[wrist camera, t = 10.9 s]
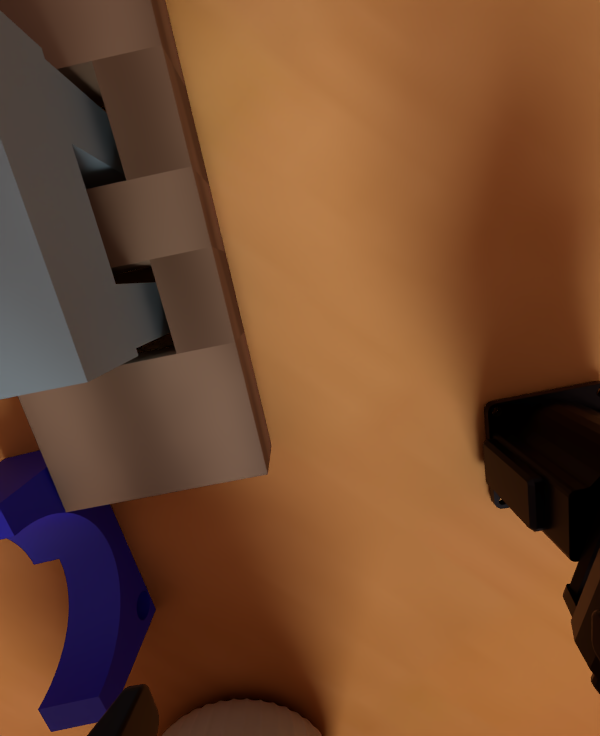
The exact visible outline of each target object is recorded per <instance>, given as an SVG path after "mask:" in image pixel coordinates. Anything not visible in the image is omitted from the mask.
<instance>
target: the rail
mask: <svg viewBox="0 0 600 736" xmlns="http://www.w3.org/2000/svg"><path fill="white" fill-rule="evenodd" d="M0 11H1V12H3V13H4V14H5V15H6V16H7V17H8V18H9V19H10V20H11V21H12V22H14V23H15V24H16V25H17V26H18V27H19V28H20V29H21V30H22V31H23V32H25V33H26V34H27V35H28V36H29V37H30V38H31V39H32V40H33V41H34V42H36V43H37V44H38V45H39V46H40V47H41V48H42V51H43V54H44V58H45V59H46V60H47V61H48V62H49V63H50V64H51V65H52V66H54V67H55V68H56V69H57V70H58V71H59V72H60V73H62V74H63V75H64V76H65V77H66V78H67V79H68V80H70V81H71V82H72V83H73V84H74V85H75V86H76V87H78V88H79V89H80V90H81V91H82V92H83V93H84V94H86V95H87V96H88V97H89V98H90V99H91V100H92V101H94V102H95V103H96V104H97V105H98V106H99V107H100V106H105V108H106V112H107V115H108V119H109V122H110V126H111V129H112V133H113V136H114V140H115V143H116V146H117V150H118V153H119V157H120V160H121V164H122V167H123V171H124V174H125V177H126V181H122V182H117V183H113V184H108V185H104V186H99V187H94V188H90V189H86V191H87V194H88V197H89V200H90V204H91V207H92V210H93V213H94V216H95V220H96V223H97V226H98V229H99V232H100V235H101V239H102V242H103V245H104V248H105V251H106V254H107V258H108V261H109V264H110V267H111V270H112V273H113V275H115V274H120V273H125V272H130V271H135V270H139V269H144V268H149V267H152V270H153V274H154V277H155V281H156V284H157V288H158V291H159V295H160V298H161V301H162V305H163V308H164V312H165V315H166V319H167V322H168V326H169V329H170V332H171V336H172V339H173V343H174V346H172V347H167V348H162V349H157V350H152V351H147V352H142V353H138V356H137V357H135V358H133V359H132V360H130V361H128V362H126V363H124V364H122V365H120V366H118V367H116V368H114V369H112V370H110V371H108V372H106V373H104V374H103V375H101V376H99V377H97V378H95V379H93V380H91V381H89V382H86V383H81V384H76V385H71V386H66V387H61V388H56V389H51V390H46V391H40V392H35V393H30V394H25V395H20V396H18V398H19V400H20V403H21V405H22V407H23V410H24V412H25V415H26V417H27V419H28V422H29V424H30V427H31V429H32V432H33V434H34V436H35V439H36V441H37V444H38V446H39V448H40V451H41V453H42V456H43V458H44V460H45V463H46V465H47V468H48V470H49V473H50V475H51V477H52V480H53V482H54V485H55V487H56V489H57V492H58V494H59V497H60V499H61V501H62V504H63V506H64V509H65V511H66V512H70V511H76V510H81V509H86V508H92V507H97V506H102V505H108V504H113V503H118V502H123V501H129V500H134V499H139V498H145V497H150V496H155V495H161V494H166V493H171V492H176V491H182V490H187V489H192V488H198V487H203V486H208V485H214V484H219V483H224V482H230V481H235V480H240V479H245V478H251V477H256V476H261V475H267V474H268V468H269V461H270V453H271V442H270V438H269V433H268V429H267V425H266V421H265V417H264V413H263V408H262V404H261V400H260V396H259V392H258V387H257V383H256V379H255V375H254V371H253V367H252V362H251V358H250V354H249V350H248V346H247V341H246V337H245V333H244V329H243V325H242V320H241V316H240V312H239V308H238V304H237V300H236V295H235V291H234V287H233V283H232V279H231V274H230V270H229V266H228V262H227V258H226V254H225V249H224V245H223V241H222V237H221V233H220V228H219V224H218V220H217V216H216V212H215V208H214V203H213V199H212V195H211V191H210V187H209V182H208V178H207V174H206V170H205V166H204V161H203V157H202V153H201V149H200V145H199V141H198V136H197V132H196V128H195V124H194V120H193V115H192V111H191V107H190V103H189V99H188V95H187V90H186V86H185V82H184V78H183V74H182V69H181V65H180V61H179V57H178V53H177V49H176V44H175V40H174V36H173V32H172V28H171V23H170V19H169V15H168V11H167V7H166V2H165V0H0Z"/></svg>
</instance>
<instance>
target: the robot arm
mask: <svg viewBox="0 0 600 736" xmlns="http://www.w3.org/2000/svg"><path fill="white" fill-rule="evenodd" d="M599 388H600V381H593V382H588V383H583V384H578V385H572V386H567V387H562V388H557V389H551V390H546V391H541V392H536V393H531V394H525V395H520V396H515V397H510V398H504V399H499V400H494V401H491V402H489V403H487V404H486V406H485V408H484V417H485V430H486V440H485V442H484V444H483V450H484V462H485V475H486V482H487V484H488V485H489V486H490V496H491V501H492V502H493V503H494V504H495V506H496V507H498V508H500V509H502V508H509V507H510V508H511V509H512V511H513V512H514V513H515V514H516V515H517V516H518V517H519V518H520V519H521V520H522V521H523V522H524V523H525V524H526V526H527V527H528V528H530V529H531V530H533V531H534V532H536V531H543V532H544V533H545V534H546V535H547V536H548V537H549V538H550V539H551V540H552V541H553V542H554V544H555V545H556V546H557V547H558V548H559V549H560V550H561V551H562V552H563V553H564V554H565V555H566V556H567V557H568V558H569V559H570V560H572V561H573V562H578V561H579V562H578V565H577V567H576V570H575V572H574V575H573V578H572V580H571V583H570V584H567V585H566V587H565V590H564V593H563V598H564V600H565V602H566V605H567V607H568V609H569V611H570V614H571V616H572V619H571V624H572V630H573V635H574V641H575V643H576V645H577V646H578V648H579V650H580V652H581V654H582V656H583V657H584V659H585V661H586V663H587V665H588V666H589V668H590V670H591V671H592V672H593V674H592V676H591V682H592V684H593V686H594V687H595V689H596V690H597V691H598V693H599V694H600V391H599V392H598V393H597V390H598V389H599ZM495 408H498V411H497V412H496V413H494V414H493V413H492V412H493V410H494V409H495ZM500 498H501V499H502V500H500V501H499V499H500ZM158 725H159V715H158V710H157V707H156V705H155V702H154V700H153V697H152V695H151V692H150V690H149V687H148V686H147V685H145V684H140V685H134V686H129V687H127V688H125V689H124V690H123V691H122V692H121V693H120V695H119V696H118V697H117V698H116V700H115V701H114V702H113V703H112V705H111V706H110V707H109V709H108V710H107V711H106V712H105V714H104V715H103V716H102V717H101V719H100V720H99V721H98V722H97V724H96V725H95V726H94V728H93V729H92V730H91V731H90V733H89V734H88V735H87V736H157V731H158Z"/></svg>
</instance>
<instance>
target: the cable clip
mask: <svg viewBox="0 0 600 736" xmlns="http://www.w3.org/2000/svg"><path fill="white" fill-rule="evenodd" d="M5 538H7V539H9V540H11V541H13V542H14V543H16V544H17V545H18V546H20V547H21V548H22V549H23V550H24V551H25V552H26V553H27V555H28V556H29V557H30V559H31V560H32V562H33V564H39V563H43V562H47V561H52V560H56V559H60V561H61V564H62V567H63V569H64V573H65V576H66V581H67V586H68V595H69V617H68V627H67V633H66V639H65V643H64V648H63V651H62V655H61V658H60V662H59V665H58V668H57V670H56V673H55V676H54V678H53V681H52V683H51V685H50V687H49V690H48V692H47V694H46V696H45V698H44V700H43V702H42V703H41V705H40V707H39V709H38V710H39V712H40V714H41V715H42V717H43V719H44V721H45V722H46V724H47V726H48V727H49V729H50V731H51V732H53V731H58V730H63V729H67V728H72V727H77V726H82V725H86V724H91V723H96V722H98V721H99V720H100V719H101V717H102V716H103V715H104V714H105V712H106V711H107V710H108V709H109V707H110V706H111V705H112V703H113V702H114V701H115V700H116V698H117V697H118V696H119V695H120V693H121V692H122V691H123V688H124V686H125V684H126V681H127V679H128V676H129V674H130V671H131V669H132V666H133V664H134V662H135V659H136V657H137V654H138V652H139V649H140V647H141V645H142V642H143V640H144V637H145V635H146V632H147V630H148V627H149V625H150V623H151V620H152V618H153V615H154V613H155V610H156V608H155V606H154V604H153V602H152V599H151V597H150V595H149V592H148V590H147V588H146V586H145V583H144V581H143V579H142V576H141V574H140V572H139V570H138V567H137V565H136V563H135V560H134V558H133V556H132V554H131V551H130V549H129V547H128V544H127V542H126V540H125V538H124V535H123V533H122V531H121V528H120V526H119V524H118V522H117V519H116V517H115V515H114V512H113V510H112V508H111V506H110V504H108V505H102V506H97V507H92V508H86V509H81V510H76V511H70V512H66V511H65V509H64V506H63V504H62V501H61V499H60V497H59V494H58V492H57V489H56V487H55V485H54V482H53V480H52V477H51V475H50V473H49V470H48V468H47V465H46V463H45V460H44V458H43V456H42V453H41V451H40V450H38V451H34V452H30V453H26V454H22V455H18V456H14V457H10V458H6V459H4V460H2V461H1V462H0V540H1V539H5Z"/></svg>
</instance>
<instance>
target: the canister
mask: <svg viewBox="0 0 600 736" xmlns="http://www.w3.org/2000/svg"><path fill="white" fill-rule="evenodd" d="M162 736H322V735H321V733H320V732H319V730H318V729H317V728H315V727H314V726H312V724H311V723H310V722H309V720H307V719H306V718H302V717H301V716H300V714H299V713H297V712H293V711H290V710H289V709H288V708H287V707H286V706H278V705H276V704H275V703H274V702H272V703H271V702H270V703H268V702H264V701H262V700H261V699H260V700H250V699H248V698H246V699H243V700H237V699H234V698H233V699H232V700H230V701H221V700H220V701H218V702H217V703H215V704H206V705H205V706H204V707H203V708H198V709H194V710H193V711H191V712H190V713H189V714H187V715H184V716H182V717H181V718H180V719H179V720H178V721H177V722H176V723H174V724H172V725H171V726H170V727H169V728H168V729H167V730H166V731H165V732H164V734H163V735H162Z"/></svg>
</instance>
